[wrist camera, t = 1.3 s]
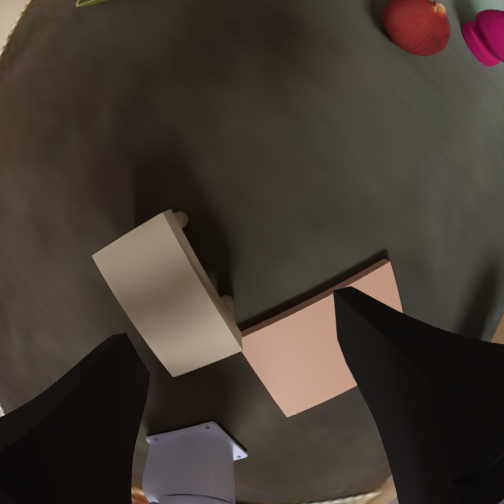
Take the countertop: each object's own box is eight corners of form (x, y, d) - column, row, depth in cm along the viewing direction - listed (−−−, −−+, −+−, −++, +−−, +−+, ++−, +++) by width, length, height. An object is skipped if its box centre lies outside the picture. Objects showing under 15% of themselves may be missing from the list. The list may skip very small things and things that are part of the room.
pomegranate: (406, 20, 16) (450, -12, 8) (427, 68, 17) (481, 44, 9) (359, 14, 16) (399, -30, 8) (382, 64, 17) (436, 30, 9)
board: (285, 410, 25) (287, 417, 24) (234, 334, 22) (234, 340, 21) (405, 348, 24) (410, 353, 23) (384, 258, 21) (390, 261, 20)
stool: (239, 307, 21) (242, 350, 15) (185, 331, 22) (173, 377, 16) (183, 204, 19) (162, 212, 13) (127, 236, 19) (91, 256, 13)
